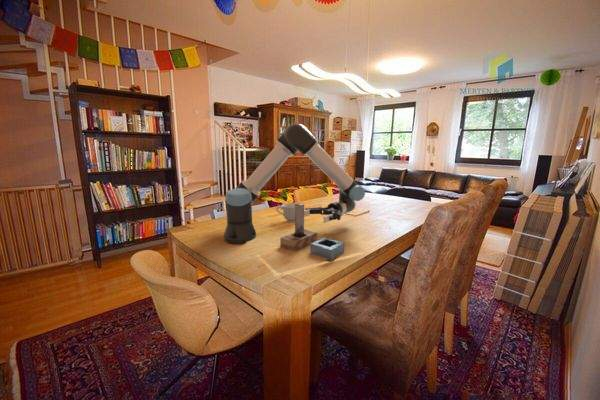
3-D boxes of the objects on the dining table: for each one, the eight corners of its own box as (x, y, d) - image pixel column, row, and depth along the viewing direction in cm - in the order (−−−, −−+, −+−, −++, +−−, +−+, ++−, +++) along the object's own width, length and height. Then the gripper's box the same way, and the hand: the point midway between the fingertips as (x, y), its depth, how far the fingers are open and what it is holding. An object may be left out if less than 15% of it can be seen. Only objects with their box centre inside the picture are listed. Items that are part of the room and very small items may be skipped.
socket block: (330, 262, 99) (331, 249, 98) (310, 255, 105) (310, 243, 104) (344, 254, 106) (344, 242, 105) (324, 248, 112) (324, 237, 111)
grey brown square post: (297, 245, 112) (297, 205, 108) (293, 243, 115) (293, 203, 112) (305, 244, 114) (306, 204, 110) (300, 241, 117) (301, 202, 114)
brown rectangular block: (294, 253, 106) (294, 242, 105) (280, 248, 111) (280, 237, 110) (317, 242, 118) (317, 232, 117) (303, 239, 123) (303, 229, 122)
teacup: (276, 219, 157) (276, 203, 155) (300, 218, 159) (300, 202, 157) (276, 224, 146) (276, 207, 144) (303, 224, 147) (303, 207, 145)
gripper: (357, 220, 128) (334, 230, 112) (316, 212, 144) (291, 220, 128) (358, 205, 127) (335, 213, 111) (317, 199, 142) (291, 205, 126)
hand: (312, 217), depth 119 cm, fingers open, 13 cm apart
